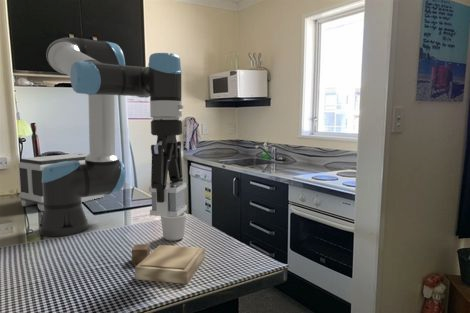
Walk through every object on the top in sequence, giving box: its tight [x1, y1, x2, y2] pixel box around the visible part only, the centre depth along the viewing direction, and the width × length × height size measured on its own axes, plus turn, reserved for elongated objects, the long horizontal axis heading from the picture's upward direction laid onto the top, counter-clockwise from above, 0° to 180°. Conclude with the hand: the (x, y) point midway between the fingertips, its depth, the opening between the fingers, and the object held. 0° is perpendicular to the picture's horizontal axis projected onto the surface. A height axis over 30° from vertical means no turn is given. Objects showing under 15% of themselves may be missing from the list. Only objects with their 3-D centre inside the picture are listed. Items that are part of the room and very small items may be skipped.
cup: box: [160, 211, 187, 241], centre depth 114 cm, size 11×8×8 cm
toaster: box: [17, 152, 105, 212], centre depth 162 cm, size 18×34×21 cm, turn 147°
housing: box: [148, 181, 188, 217], centre depth 88 cm, size 7×7×7 cm
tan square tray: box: [134, 244, 206, 285], centre depth 90 cm, size 13×15×3 cm
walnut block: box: [131, 243, 151, 265], centre depth 95 cm, size 4×4×4 cm
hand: (168, 210), depth 88 cm, fingers closed on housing, 7 cm apart
